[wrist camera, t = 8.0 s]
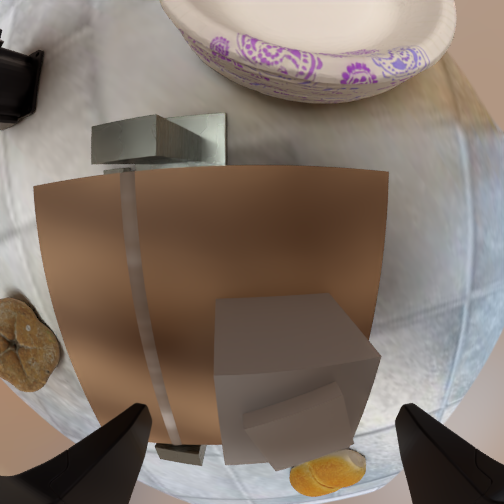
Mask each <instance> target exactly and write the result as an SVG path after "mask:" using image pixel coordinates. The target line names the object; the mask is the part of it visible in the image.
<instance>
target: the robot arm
mask: <svg viewBox="0 0 504 504" xmlns="http://www.w3.org/2000/svg"><path fill="white" fill-rule="evenodd" d="M1 33H2V30H1V29H0V38H1ZM3 43H4V41H2V40H0V130H4V129H6V128H8V127H11V126H13V125H15V124H16V123H17V122H18V120H20V119H23V118H25V117H27V116H29V115H31V114H33V112H34V111H35V105H36V96H37V88H38V81H39V75H40V69H41V64H42V59H43V54H44V52H43V51H42V50H38V51H36V52H34V53H33V54H31V55H29V56H27V55H24V54H21V53H18V52H15V51H12V50H8V49H5V48H2V47H1V46H2V44H3ZM30 108H31V109H30ZM395 426H396V432H397V437H398V443H399V450H400V456H401V460H402V464H403V467H404V471H405V475H406V478H407V482H408V486H409V490H410V494H411V498H412V503H413V504H504V465H503V464H501V463H499V462H497V461H496V460H494V459H492V458H490V457H489V456H487V455H486V454H484V453H483V452H481V451H480V450H478V449H476V448H475V447H474V446H472V445H471V444H469V443H468V442H467V441H465V440H464V439H462V438H461V437H460V436H458V435H457V434H455V433H454V432H453V431H451V430H450V429H448V428H447V427H445V426H444V425H443V424H441V423H440V422H439V421H437V420H436V419H434V418H433V417H432V416H430V415H429V414H428V413H426V412H425V411H423V410H422V409H421V408H419V407H418V406H417V405H415V404H413V403H409V404H404V405H403V406H402V407H401V409H400V411H399V413H398V415H397V417H396V420H395ZM151 427H152V417H151V414H150V412H149V409H148V406H147V405H146V404H142V403H134V404H133V405H132V406H130V407H129V408H127V409H126V410H125V411H123V412H122V413H120V414H119V415H117V416H116V417H115V418H113V419H112V420H110V421H109V422H107V423H106V424H105V425H103V426H102V427H100V428H99V429H97V430H96V431H94V432H93V433H91V434H90V435H88V436H87V437H85V438H84V439H82V440H81V441H79V442H78V443H76V444H75V445H73V446H72V447H70V448H69V449H68V450H65V451H64V452H62V453H61V454H59V455H57V456H56V457H54V458H53V459H51V460H49V461H47V462H45V463H43V464H41V465H38V466H36V467H34V468H32V469H30V470H27V471H25V472H23V473H20V474H17V475H14V476H0V504H129V501H130V498H131V495H132V492H133V489H134V486H135V483H136V481H137V478H138V475H139V472H140V469H141V466H142V464H143V461H144V458H145V454H146V449H147V445H148V440H149V436H150V431H151Z"/></svg>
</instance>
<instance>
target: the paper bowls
mask: <svg viewBox="0 0 504 504" xmlns="http://www.w3.org/2000/svg"><path fill="white" fill-rule="evenodd" d="M160 3H161V5H162V8H163V9H164V11H165V12H166V14H167V15H168V17H169V19H171V20H172V22H173V23H174V24H175V26H176V27H177V28H178V29H179V30H180V32H181V33H182V35H183V37H184V38H185V40H186V41H187V43H188V44H189V46H190V47H191V49H192V50H193V51H194V52H195V53H196V54H197V55H198V56H199V57H200V58H201V60H202V61H204V62H205V63H206V64H207V65H208V66H209V67H211V68H213V69H214V70H215V71H217V72H219V73H220V74H222V75H223V76H225V77H227V78H228V79H230V80H232V81H233V82H235V83H237V84H239V85H242V86H244V87H247V88H249V89H251V90H256V91H258V92H260V93H262V94H265V95H268V96H273V97H276V98H282V99H285V100H290V101H298V102H305V103H341V102H351V101H353V100H356V101H357V100H360V99H362V98H368V97H371V96H375V95H378V94H380V93H383V92H385V91H388V90H390V89H392V88H394V87H396V86H397V85H399V84H400V83H402V82H404V81H406V80H408V79H410V78H411V77H413V76H415V75H416V74H418V73H419V72H422V71H424V70H426V69H428V68H429V67H431V66H433V65H434V64H435V63H436V62H437V61H439V60H440V58H441V57H442V56H443V55H444V54H445V52H446V50H447V49H448V48H449V46H450V44H451V42H452V40H453V37H454V33H455V28H456V19H457V16H456V7H455V2H454V0H160Z"/></svg>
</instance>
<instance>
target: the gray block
mask: <svg viewBox="0 0 504 504" xmlns="http://www.w3.org/2000/svg"><path fill="white" fill-rule="evenodd" d="M380 359H381V355H380V354H379V353H378V352H377V350H376V349H375V348H374V347H373V345H372V344H371V343H370V342H369V340H368V339H367V338H366V337H365V336H364V334H363V333H362V332H361V331H360V329H359V328H358V327H357V326H356V325H355V323H354V322H353V321H352V320H351V319H350V317H349V316H348V315H347V314H346V313H345V311H344V310H343V309H342V308H341V307H340V305H339V304H338V303H337V302H336V301H335V300H334V298H333V297H332V296H331V295H330V294H329V293H319V294H305V295H289V296H270V297H249V298H222V299H216V303H215V334H214V384H215V393H216V401H217V409H218V418H219V425H220V433H221V440H222V447H223V454H224V461H225V465H240V464H255V463H266V462H269V463H270V465H271V466H272V467H273V468H274V470H275V471H279V470H282V469H286V468H289V467H292V466H296V465H299V464H302V463H305V462H308V461H311V460H314V459H317V458H320V457H322V456H325V455H328V454H331V453H333V452H336V451H338V450H342V449H346V448H349V446H350V445H353V444H354V442H353V437H354V435H355V432H356V430H357V427H358V425H359V422H360V419H361V417H362V414H363V412H364V409H365V406H366V403H367V400H368V398H369V395H370V392H371V389H372V386H373V383H374V379H375V376H376V373H377V370H378V366H379V363H380Z"/></svg>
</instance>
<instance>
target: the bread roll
mask: <svg viewBox="0 0 504 504" xmlns="http://www.w3.org/2000/svg"><path fill="white" fill-rule="evenodd" d="M365 472H366V461H365V458H364V457H363V456H362V455H360V454H359V453H358V452H355V451H353V450H349V449H342V450H338V451H336V452H333V453H331V454H328V455H325V456H322V457H320V458H317V459H314V460H311V461H308V462H305V463H302V464H299V465H296V466H295V467H293V468H292V470H291V472H290V483H291V485H292V486H293V488H294V489H295V490H296V491H298V492H299V493H301V494H303V495H306V496H311V497H316V496H321V495H326V494H329V493H332V492H335V491H337V490H339V489H340V488H342V487H347V486H350V485H353V484H355V483H357V482H358V481H360V480H361V479H362V477H363V476H364V474H365Z"/></svg>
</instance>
